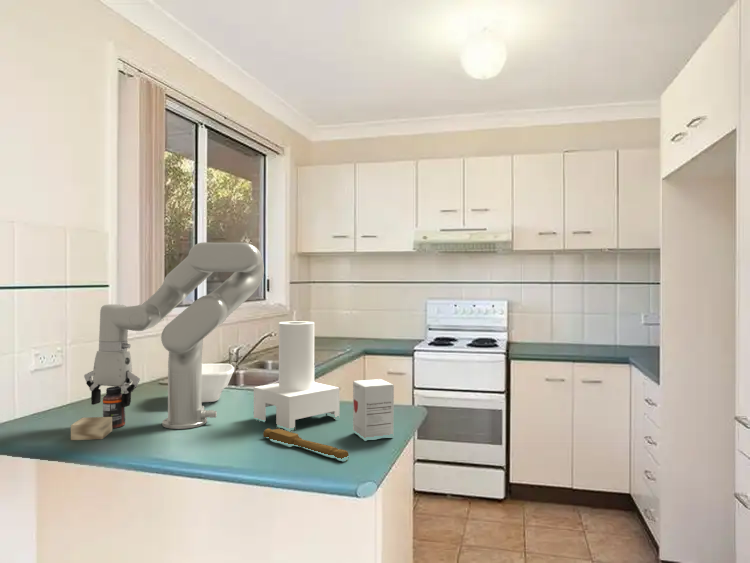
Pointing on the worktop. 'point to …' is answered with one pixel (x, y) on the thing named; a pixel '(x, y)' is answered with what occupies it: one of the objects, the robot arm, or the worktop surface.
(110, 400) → the supplement bottle
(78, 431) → the maple block
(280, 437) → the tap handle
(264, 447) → the worktop surface
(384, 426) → the supplement box
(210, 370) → the bowl
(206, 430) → the worktop surface
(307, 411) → the paper towel holder
